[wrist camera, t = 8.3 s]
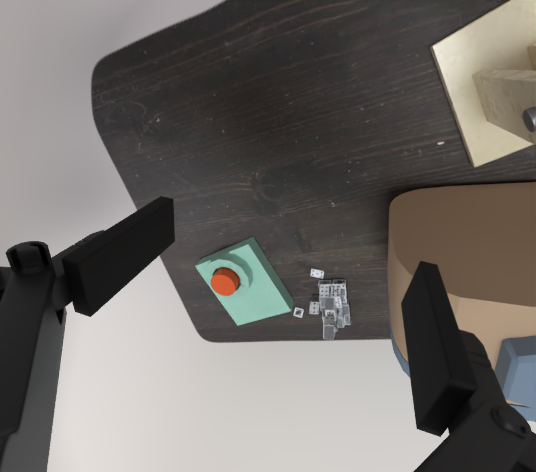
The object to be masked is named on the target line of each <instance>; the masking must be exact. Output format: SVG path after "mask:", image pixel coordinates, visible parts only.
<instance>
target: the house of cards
mask: <svg viewBox="0 0 536 472" xmlns="http://www.w3.org/2000/svg"><path fill="white" fill-rule="evenodd" d="M323 275H324V271H320V270H316V269H311V276H312V277H317V278H322V279H323ZM318 287H319V293H320V295H313V296H312V300H311V302H310V312H309V314H319V313H320V312H321V310H322V308H323V313H322V318H323V324H324V325H323V327H324V330H323V339H332V340H334V337H335V331H337V330H338V327H341V328H344V325H351V320H352V318H350V316H349V315H350V312H349V299H347V296H346V279H333V282H332V280H319V282H318ZM303 311H304V310H303V309H300V308H297V307H295V311H294V316H297V317H300V318H302V314H303Z"/></svg>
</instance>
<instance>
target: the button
mask: <svg viewBox="0 0 536 472" xmlns="http://www.w3.org/2000/svg"><path fill="white" fill-rule="evenodd" d="M238 285H239V277H238V275H237V273H236V272H235V271H233V270H232V269H229V268H220V269H218V270H217V271H216V273H215V274H214V276H213V277H212V278H211V286H212V288H213V290H214V291H215V292H216V293H218V294H220V295H222V296H230V295H232V294H233V293H234V292H235V290H236V288H237V287H238Z"/></svg>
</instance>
